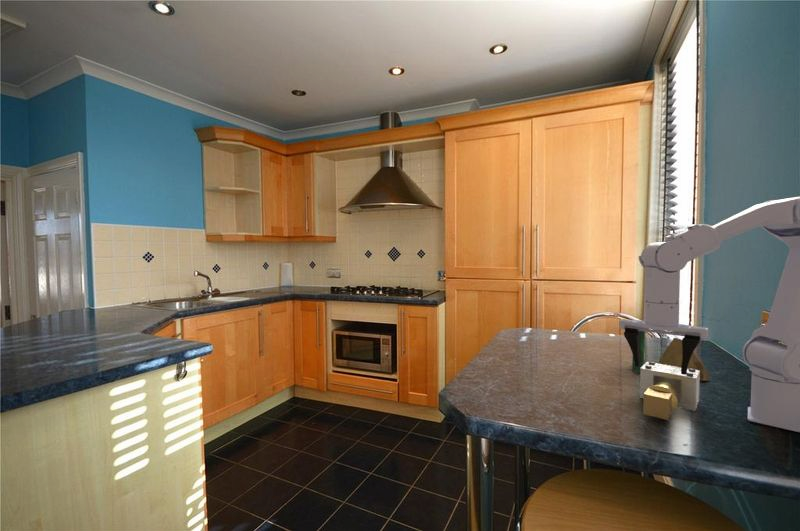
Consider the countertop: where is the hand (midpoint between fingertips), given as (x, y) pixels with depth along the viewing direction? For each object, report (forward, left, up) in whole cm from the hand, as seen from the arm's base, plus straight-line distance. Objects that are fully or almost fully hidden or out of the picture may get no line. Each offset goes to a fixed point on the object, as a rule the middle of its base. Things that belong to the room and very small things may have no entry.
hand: (660, 369), depth 75 cm
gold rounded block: (0, -1, -10) cm, 10 cm away
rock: (0, -35, -10) cm, 36 cm away
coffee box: (+10, -34, -10) cm, 36 cm away
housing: (0, -12, -10) cm, 16 cm away
